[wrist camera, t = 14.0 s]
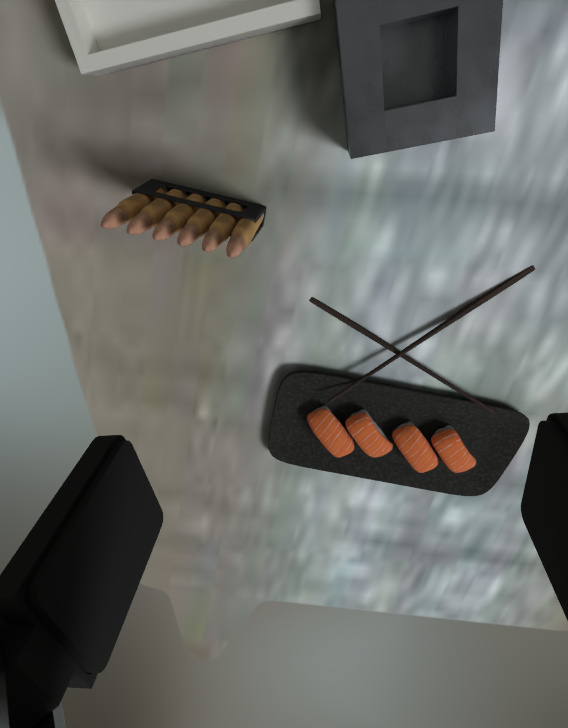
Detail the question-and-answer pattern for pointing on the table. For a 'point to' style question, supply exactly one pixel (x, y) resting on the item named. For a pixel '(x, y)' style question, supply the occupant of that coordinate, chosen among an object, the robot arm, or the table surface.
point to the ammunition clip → (188, 216)
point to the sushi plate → (395, 425)
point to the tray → (169, 27)
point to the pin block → (417, 71)
